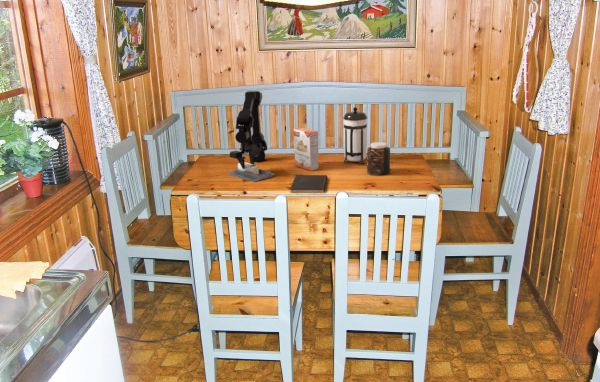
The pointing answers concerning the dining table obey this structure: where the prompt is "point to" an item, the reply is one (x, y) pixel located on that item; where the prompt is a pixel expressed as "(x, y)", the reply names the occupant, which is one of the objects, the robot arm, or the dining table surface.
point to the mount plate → (251, 175)
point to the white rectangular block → (249, 168)
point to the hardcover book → (309, 184)
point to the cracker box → (306, 148)
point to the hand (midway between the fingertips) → (248, 167)
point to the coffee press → (355, 136)
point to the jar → (378, 159)
